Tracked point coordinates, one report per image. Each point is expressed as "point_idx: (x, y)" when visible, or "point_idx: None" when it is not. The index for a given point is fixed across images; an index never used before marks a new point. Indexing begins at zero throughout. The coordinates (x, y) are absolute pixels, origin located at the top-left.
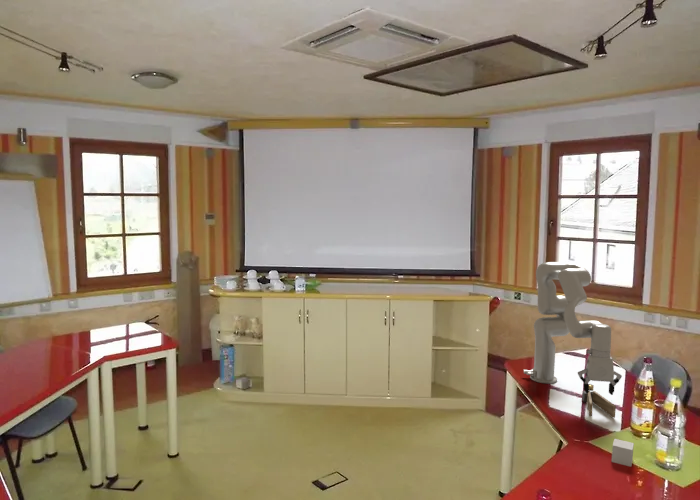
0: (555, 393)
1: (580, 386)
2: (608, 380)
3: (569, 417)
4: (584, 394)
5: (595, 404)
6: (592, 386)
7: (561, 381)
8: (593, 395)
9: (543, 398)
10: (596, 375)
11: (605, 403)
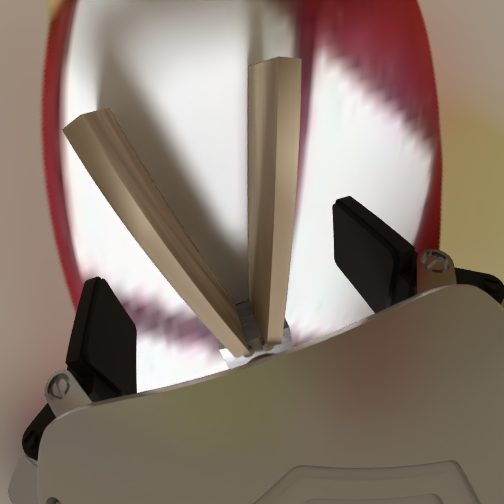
0: (371, 314)
1: None
2: (103, 417)
3: (370, 31)
4: (286, 322)
5: (217, 279)
6: None
7: None
8: (239, 328)
9: (427, 239)
10: (445, 418)
11: (154, 214)
